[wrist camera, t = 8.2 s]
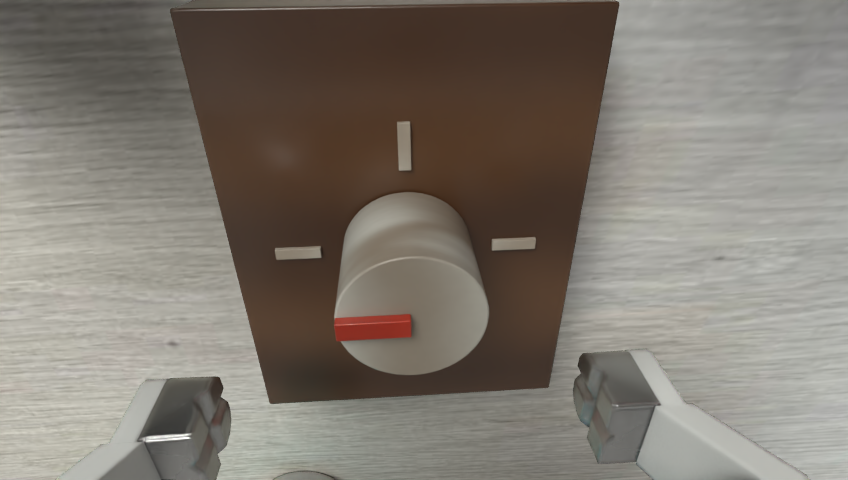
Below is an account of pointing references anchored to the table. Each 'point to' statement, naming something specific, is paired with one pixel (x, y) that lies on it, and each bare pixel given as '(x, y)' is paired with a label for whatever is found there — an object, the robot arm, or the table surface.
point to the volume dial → (409, 286)
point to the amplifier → (397, 163)
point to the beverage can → (304, 476)
